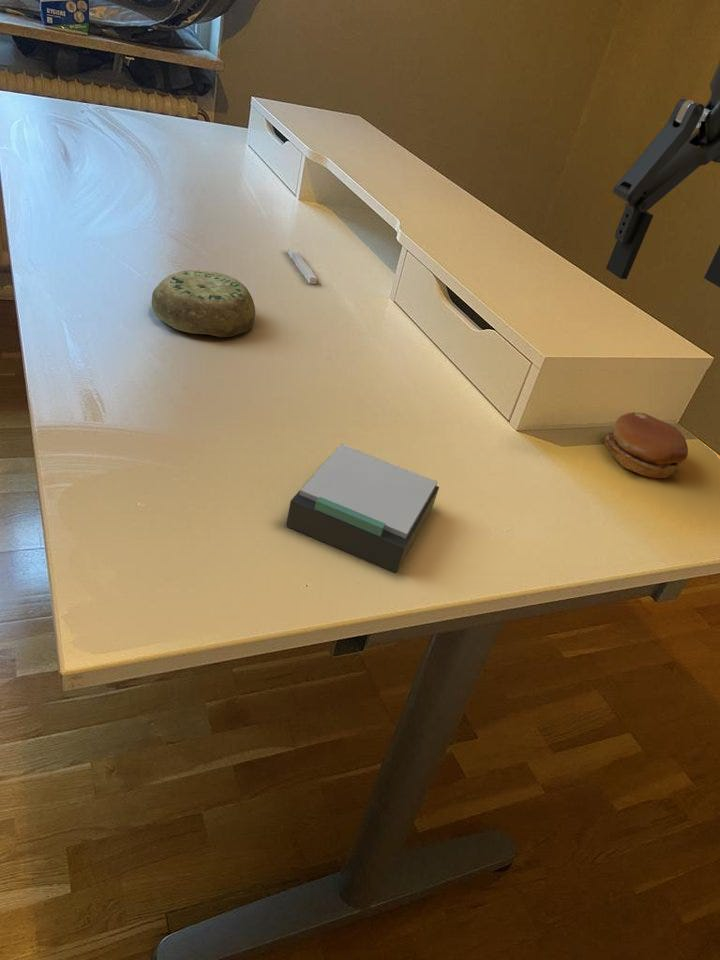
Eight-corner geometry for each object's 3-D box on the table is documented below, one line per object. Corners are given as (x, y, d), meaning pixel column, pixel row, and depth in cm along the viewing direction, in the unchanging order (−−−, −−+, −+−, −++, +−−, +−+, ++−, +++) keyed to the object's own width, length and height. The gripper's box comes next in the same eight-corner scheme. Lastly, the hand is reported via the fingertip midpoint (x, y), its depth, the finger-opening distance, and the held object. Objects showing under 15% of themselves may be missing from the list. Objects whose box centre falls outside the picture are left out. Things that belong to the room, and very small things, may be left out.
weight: (128, 312, 96) (129, 275, 93) (196, 290, 106) (199, 256, 103) (210, 352, 92) (214, 314, 89) (273, 324, 102) (278, 290, 99)
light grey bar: (316, 284, 118) (317, 278, 117) (309, 283, 117) (310, 277, 117) (294, 254, 127) (295, 248, 126) (288, 254, 126) (289, 248, 126)
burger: (644, 486, 87) (661, 453, 84) (587, 443, 93) (601, 411, 90) (692, 472, 92) (710, 441, 90) (635, 433, 98) (650, 402, 96)
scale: (431, 510, 74) (442, 478, 72) (396, 573, 65) (407, 539, 63) (332, 470, 76) (339, 438, 74) (285, 526, 67) (292, 491, 65)
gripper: (830, 70, 74) (729, 273, 86) (635, 20, 65) (551, 255, 77) (894, 86, 69) (776, 300, 81) (691, 33, 59) (591, 284, 71)
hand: (666, 279), depth 79 cm, fingers open, 13 cm apart
